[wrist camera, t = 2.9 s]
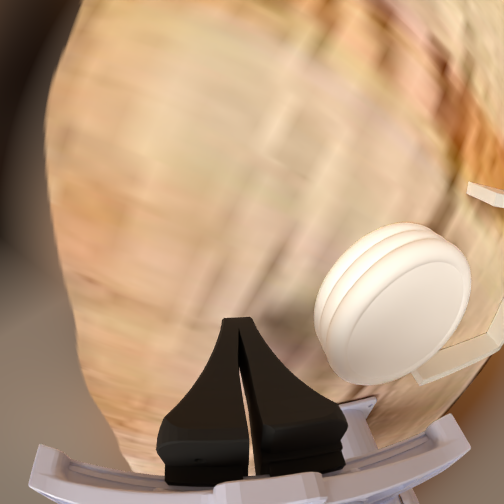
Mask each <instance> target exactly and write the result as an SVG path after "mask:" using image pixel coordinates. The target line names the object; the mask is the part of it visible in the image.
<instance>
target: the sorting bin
mask: <svg viewBox="0 0 504 504" xmlns="http://www.w3.org/2000/svg"><path fill="white" fill-rule="evenodd" d="M466 194H468V195H471V196H473V197H475V198H477V199H480V200H482V201H484V202H486V203H488V204H490V205H492V206H495V207H501V208H504V190H501V189H497V188H493V187H489V186H485V185H481V184H477V183H473V182H468V187H467V193H466ZM503 343H504V298H503V300H502V302H501V304H500V307H499V309H498V311H497V313H496V315H495V317H494V319H493V321H492V323H491V325H490V327H489V329H488V331H487V333H485V334H482V335H480V336H477V337H475V338H472V339H470V340H467V341H465V342H462V343H459V344H457V345H454V346H451V347H448V348H445V349H442V350H439V351H438V352H437V353H436V354H435V355H434V356H433V357H432V358H430V359H429V360H428V361H427V362H426V363H424V364H423V365H422V366H420V367H419V368H417V369H416V370H414V371H412V372H411V374H412V375H413V377H414V378H415V380H416V381H417V383H418V385H419V386H422V385H424V384H427V383H430V382H432V381H435V380H437V379H440V378H442V377H445V376H447V375H450V374H452V373H454V372H456V371H459V370H461V369H463V368H465V367H467V366H470V365H472V364H474V363H476V362H478V361H480V360H482V359H484V358H486V357H488V356H490V355H492V354H493V353H495V352H497V351H499V350H500V348H501V347H502V345H503Z"/></svg>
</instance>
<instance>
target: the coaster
mask: <svg viewBox="0 0 504 504" xmlns="http://www.w3.org/2000/svg"><path fill="white" fill-rule="evenodd" d="M470 292H471V271H470V267H469V264H468V261H467V259H466V257H465V256H464V255H463V253H462V252H461V250H460V249H459V248H458V247H456V246H455V245H454V244H452V243H450V242H448V241H447V240H446V239H444V238H443V237H442V236H440V235H438V234H436V233H435V232H434V231H432V230H431V229H430V228H427V227H425V226H423V225H420V224H415V223H404V222H401V223H394V224H390V225H386V226H383V227H381V228H378V229H376V230H374V231H372V232H370V233H368V234H367V235H365V236H363V237H362V238H361V239H359V240H358V241H357V242H355V243H354V244H353V245H352V246H351V247H350V248H348V249H347V250H346V251H345V252H344V253H343V254H342V256H341V257H340V258H339V259H338V260H337V261H336V263H335V264H334V265H333V266H332V268H331V269H330V271H329V272H328V274H327V275H326V277H325V279H324V281H323V283H322V285H321V287H320V289H319V292H318V295H317V298H316V302H315V306H314V328H315V331H316V335H317V337H318V339H319V341H320V342H321V346H322V349H323V351H324V353H325V354H326V356H327V359H328V363H329V365H330V367H331V368H332V369H333V371H334V372H335V373H336V374H337V375H338V376H339V377H340V378H342V379H343V380H345V381H347V382H349V383H353V384H357V385H378V384H383V383H387V382H391V381H393V380H396V379H399V378H401V377H403V376H405V375H407V374H409V373H411V372H412V371H414V370H416V369H417V368H419V367H420V366H422V365H423V364H424V363H426V362H427V361H428V360H429V359H430V358H432V357H433V356H434V355H435V354H436V353H437V352H438V351H439V350H440V349H441V348H442V347H443V346H444V345H445V343H446V342H447V341H448V340H449V338H450V337H451V336H452V334H453V333H454V331H455V330H456V328H457V327H458V325H459V323H460V321H461V319H462V317H463V315H464V313H465V310H466V308H467V305H468V302H469V298H470Z"/></svg>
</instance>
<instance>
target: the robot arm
mask: <svg viewBox="0 0 504 504" xmlns="http://www.w3.org/2000/svg"><path fill="white" fill-rule="evenodd" d="M239 368H240V372H241V377H242V382H243V387H244V391H245V396H246V400H247V405H248V411H249V420H250V428H251V437H252V446H253V454H254V463H255V472H256V476H248V465H249V434H248V426H247V421H246V415H245V409H244V403H243V397H242V390H241V383H240V376H239ZM376 402H377V399H376V397H370V398H366V399H362V400H358V401H353V402H349V403H345V404H340V405H338V404H337V403H335V402H333V401H331V400H329V399H327V398H325V397H324V396H322V395H320V394H319V393H317V392H316V391H314V390H313V389H311V388H310V387H309V386H307V385H306V384H305V383H303V382H302V381H301V380H300V379H298V378H297V377H296V376H295V375H294V374H293V373H292V372H291V371H289V370H288V369H287V368H286V367H285V366H284V364H283V363H282V362H281V361H280V360H279V359H278V358H277V357H276V355H275V354H274V353H273V352H272V350H271V349H270V348H269V346H268V345H267V344H266V342H265V341H264V339H263V338H262V336H261V335H260V333H259V331H258V330H257V328H256V326H255V324H254V322H253V319H252V318H251V317H240V318H224V319H223V320H222V325H221V330H220V333H219V337H218V339H217V342H216V345H215V347H214V350H213V352H212V354H211V356H210V358H209V361H208V363H207V364H206V366H205V368H204V370H203V372H202V373H201V375H200V376H199V378H198V379H197V381H196V382H195V384H194V385H193V387H192V388H191V389H190V391H189V392H188V393H187V394H186V395H185V397H184V398H183V399H182V400H181V401H180V402H179V403H178V404H177V406H175V407H174V408H173V409H172V410H171V411H170V412H169V413H168V414H167V415H166V416H165V417H164V419H163V421H162V424H161V426H160V429H159V433H158V437H157V447H156V451H157V453H158V455H159V456H160V458H161V459H162V461H163V462H164V463H165V476H159V475H149V474H141V473H134V472H128V471H122V470H116V469H110V468H106V467H101V466H97V465H92V464H88V463H84V462H80V461H77V460H73V459H70V458H69V456H67V454H65V453H64V452H62V451H60V450H57V449H55V448H52V447H49V446H46V445H43V444H39V447H38V450H37V454H36V457H35V461H34V464H33V468H32V472H31V476H30V480H29V487H30V488H32V489H34V490H35V491H37V492H38V493H40V494H42V495H44V496H45V497H47V498H49V499H50V500H52V501H54V502H56V503H58V504H402V503H403V504H419V502H418V500H417V497H416V495H415V493H414V491H413V490H412V488H413V487H415V486H417V485H419V484H421V483H423V482H424V481H426V480H428V479H430V478H432V477H434V476H435V475H437V474H439V473H441V472H442V471H444V470H445V469H447V468H448V467H449V466H451V465H452V464H453V463H454V462H456V461H457V460H458V459H459V458H461V457H462V456H463V455H464V454H465V453H467V451H469V450H470V449H471V447H470V445H469V443H468V441H467V439H466V438H465V436H464V434H463V433H462V431H461V429H460V427H459V426H458V424H457V423H456V421H455V419H454V417H453V416H452V414H448V415H446V416H444V417H442V418H440V419H438V420H436V421H434V422H433V423H431V424H430V425H429V426H428V427H427V428H426V430H425V431H424V432H421V433H419V434H417V435H415V436H412V437H410V438H407V439H405V440H403V441H400V442H397V443H395V444H392V445H390V446H387V447H384V448H381V449H378V447H377V445H376V443H375V440H374V438H373V436H372V433H371V431H370V429H369V426H368V424H367V422H366V418H367V417H368V415H369V413H370V412H371V410H372V408H373V407H374V405H375V403H376ZM399 494H400V495H401V496H400V498H401V501H402V503H401V501H400V498H399V496H398V495H399Z"/></svg>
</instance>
